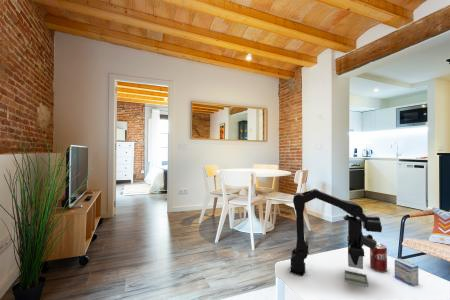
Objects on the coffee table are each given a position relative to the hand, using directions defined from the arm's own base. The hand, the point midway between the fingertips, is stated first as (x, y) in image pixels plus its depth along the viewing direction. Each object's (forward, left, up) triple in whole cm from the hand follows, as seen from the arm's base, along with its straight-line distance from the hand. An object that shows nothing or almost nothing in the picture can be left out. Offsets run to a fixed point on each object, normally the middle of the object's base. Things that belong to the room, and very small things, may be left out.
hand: (355, 262), depth 107 cm
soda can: (+11, +17, -9) cm, 22 cm away
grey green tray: (0, 0, -8) cm, 8 cm away
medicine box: (+21, +10, -9) cm, 25 cm away
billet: (0, 0, -2) cm, 2 cm away
